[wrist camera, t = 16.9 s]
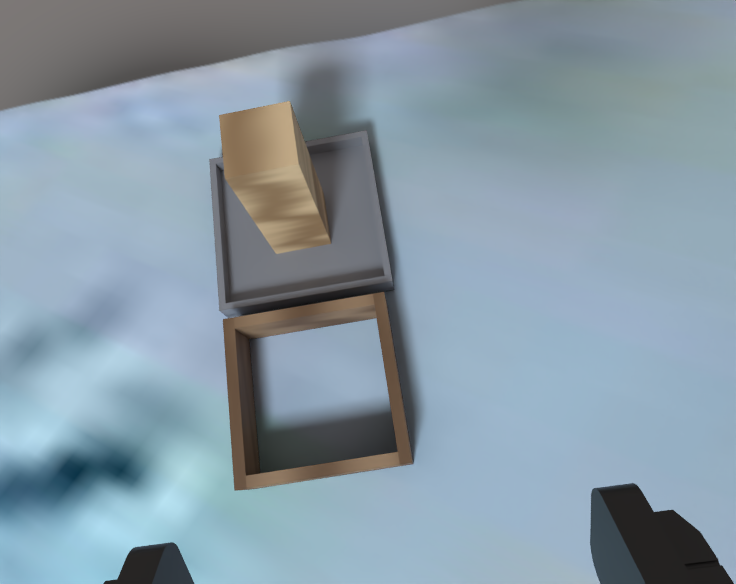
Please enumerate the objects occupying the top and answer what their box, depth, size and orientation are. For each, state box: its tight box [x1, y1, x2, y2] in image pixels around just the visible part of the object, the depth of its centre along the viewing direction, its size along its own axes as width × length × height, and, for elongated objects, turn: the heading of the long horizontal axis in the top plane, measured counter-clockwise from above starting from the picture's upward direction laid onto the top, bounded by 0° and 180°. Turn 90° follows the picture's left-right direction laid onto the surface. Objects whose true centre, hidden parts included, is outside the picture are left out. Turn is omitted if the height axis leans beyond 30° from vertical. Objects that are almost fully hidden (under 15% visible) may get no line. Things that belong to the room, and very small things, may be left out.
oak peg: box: [219, 101, 331, 254], centre depth 40 cm, size 4×4×12 cm
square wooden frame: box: [223, 292, 413, 490], centre depth 40 cm, size 12×12×4 cm
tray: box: [209, 130, 394, 318], centre depth 45 cm, size 13×13×2 cm
